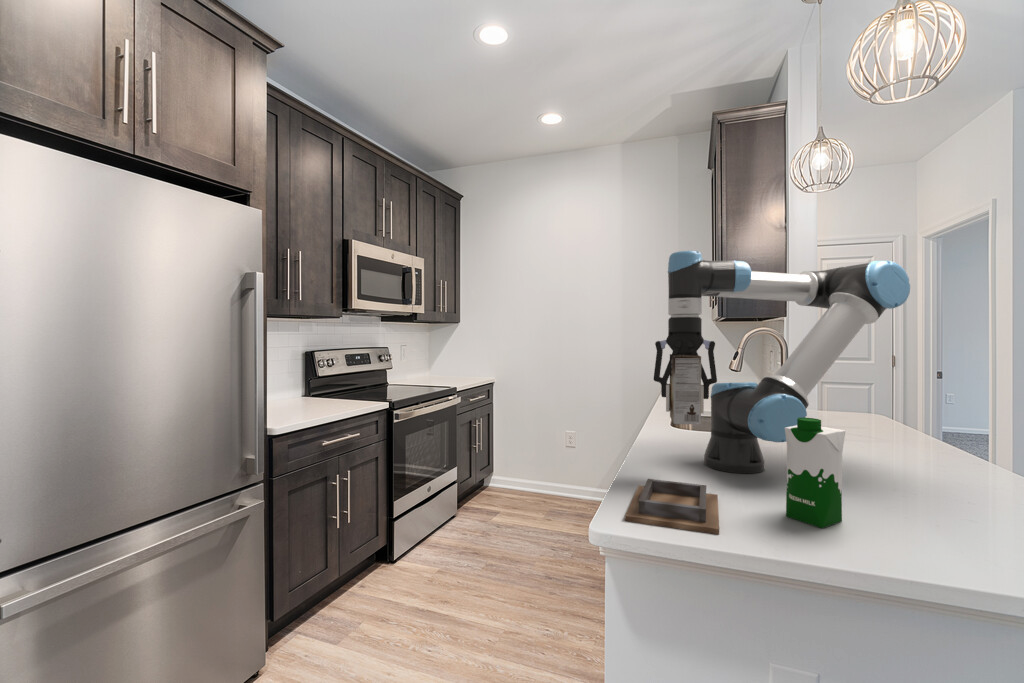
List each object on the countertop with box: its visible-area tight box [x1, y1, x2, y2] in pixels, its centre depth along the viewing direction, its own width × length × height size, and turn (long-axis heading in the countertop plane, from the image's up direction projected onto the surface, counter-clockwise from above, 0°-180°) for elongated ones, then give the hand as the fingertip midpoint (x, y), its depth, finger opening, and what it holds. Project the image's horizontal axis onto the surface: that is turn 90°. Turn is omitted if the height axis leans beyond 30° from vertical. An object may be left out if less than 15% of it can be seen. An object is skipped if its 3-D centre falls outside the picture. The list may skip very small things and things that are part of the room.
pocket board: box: [624, 478, 720, 535], centre depth 101 cm, size 17×20×4 cm
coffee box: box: [669, 353, 702, 426], centre depth 117 cm, size 9×6×16 cm
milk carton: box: [785, 417, 846, 529], centre depth 96 cm, size 9×9×20 cm
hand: (684, 411), depth 117 cm, fingers closed on coffee box, 7 cm apart
